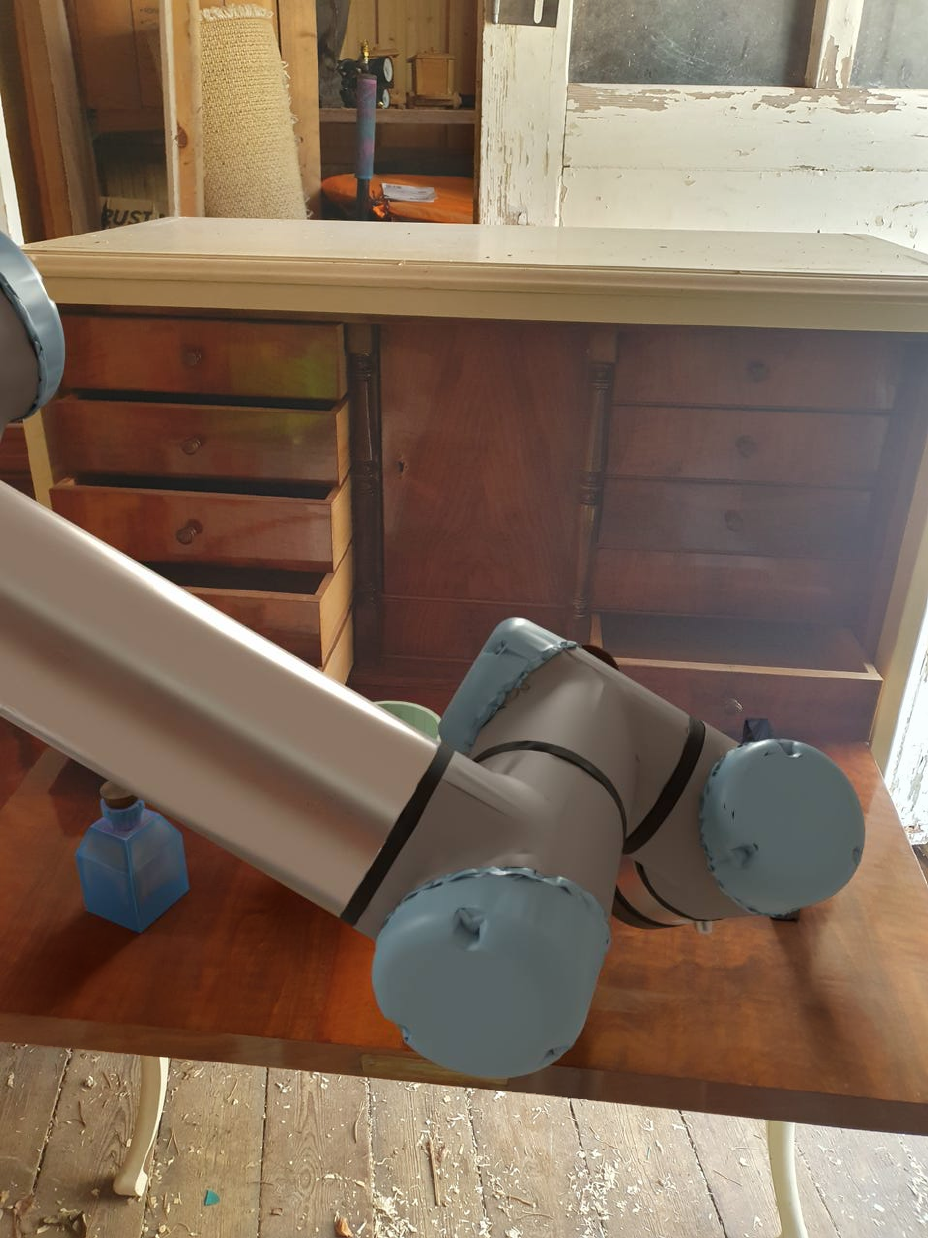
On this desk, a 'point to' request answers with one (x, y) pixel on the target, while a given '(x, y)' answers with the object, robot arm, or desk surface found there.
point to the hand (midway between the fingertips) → (555, 893)
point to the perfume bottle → (131, 862)
